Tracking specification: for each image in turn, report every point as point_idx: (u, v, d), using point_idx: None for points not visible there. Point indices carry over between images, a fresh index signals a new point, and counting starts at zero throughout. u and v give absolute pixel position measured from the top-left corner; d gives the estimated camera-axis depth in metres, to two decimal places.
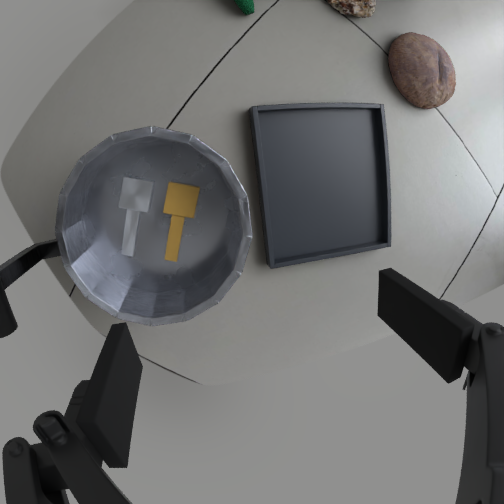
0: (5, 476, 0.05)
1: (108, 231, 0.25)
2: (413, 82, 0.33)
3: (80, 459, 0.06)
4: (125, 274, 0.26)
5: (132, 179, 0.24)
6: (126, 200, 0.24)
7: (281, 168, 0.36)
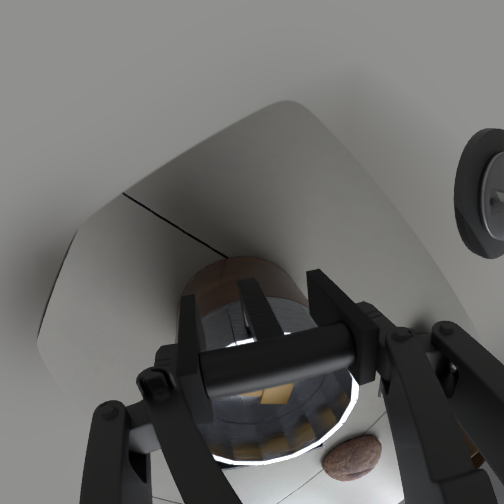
0: (90, 438, 0.07)
1: None
2: (344, 459, 0.45)
3: (178, 416, 0.08)
4: None
5: None
6: None
7: None
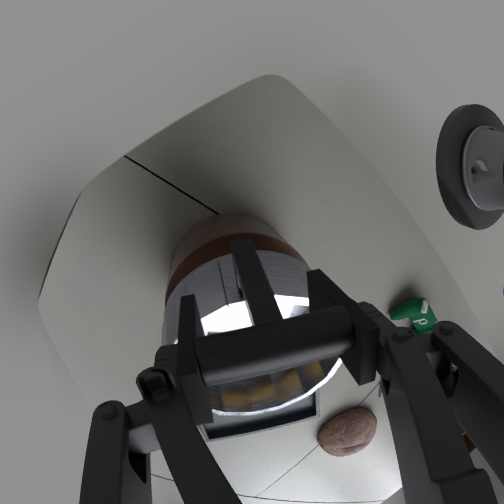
0: (90, 438, 0.07)
1: None
2: (339, 431, 0.47)
3: (178, 416, 0.08)
4: None
5: (291, 310, 0.26)
6: None
7: None
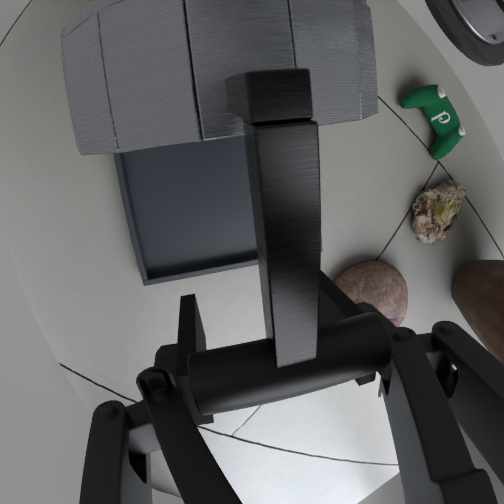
0: (90, 438, 0.07)
1: None
2: (355, 288, 0.34)
3: (178, 416, 0.08)
4: None
5: None
6: None
7: None
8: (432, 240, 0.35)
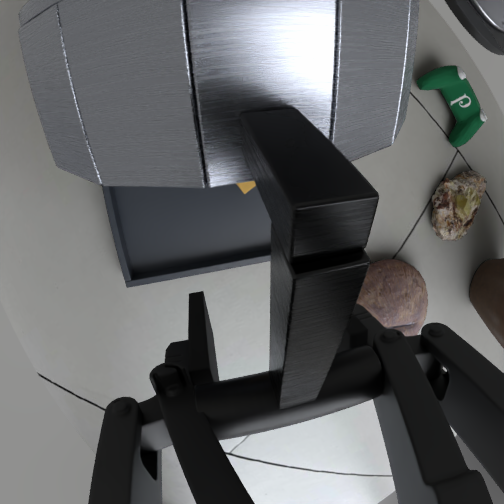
0: (102, 434, 0.07)
1: None
2: (371, 290, 0.29)
3: (191, 412, 0.08)
4: None
5: None
6: None
7: None
8: (453, 236, 0.30)
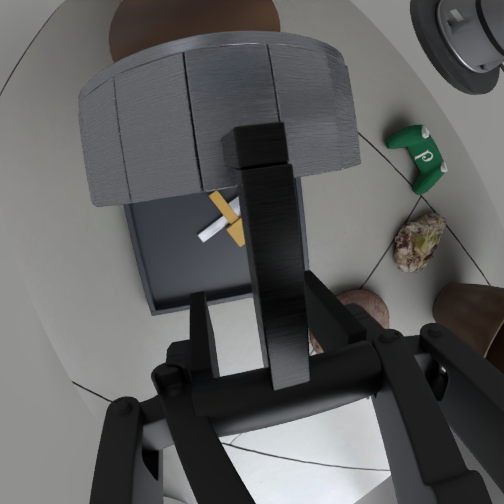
0: (103, 434, 0.07)
1: None
2: None
3: (192, 412, 0.08)
4: None
5: None
6: None
7: None
8: (412, 269, 0.40)
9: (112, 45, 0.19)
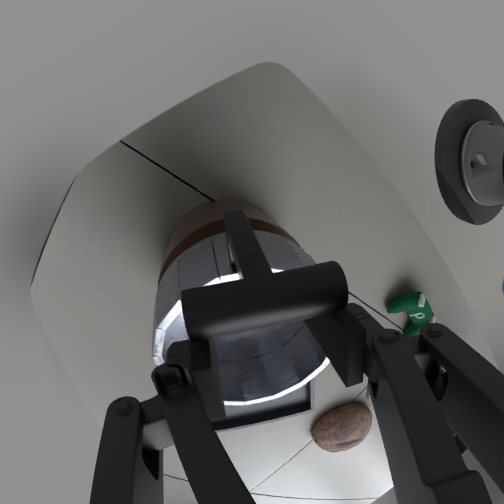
0: (103, 434, 0.07)
1: None
2: (333, 426, 0.47)
3: (192, 412, 0.08)
4: None
5: None
6: None
7: None
8: None
9: None
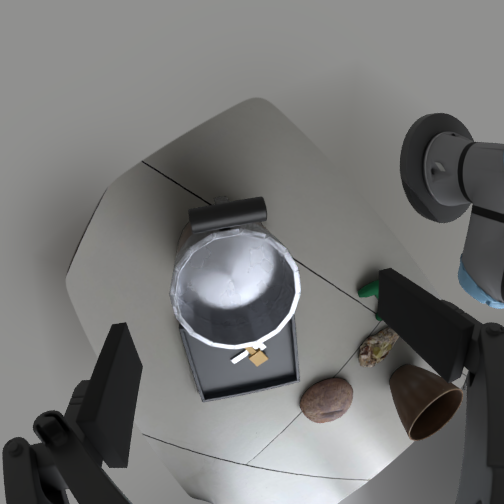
0: (5, 476, 0.05)
1: (223, 243, 0.37)
2: (318, 397, 0.58)
3: (80, 459, 0.06)
4: (191, 255, 0.37)
5: None
6: None
7: None
8: (370, 366, 0.59)
9: None
